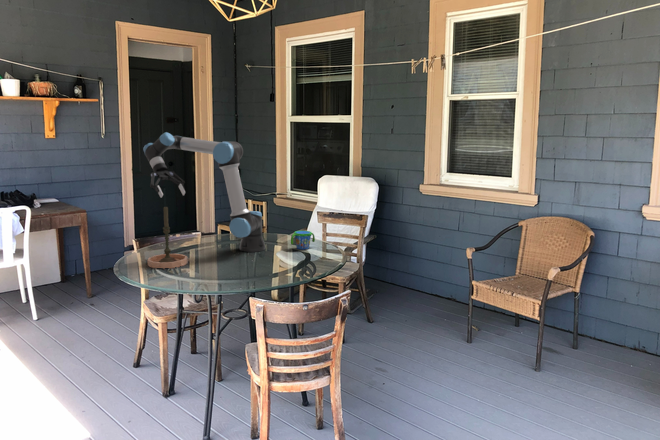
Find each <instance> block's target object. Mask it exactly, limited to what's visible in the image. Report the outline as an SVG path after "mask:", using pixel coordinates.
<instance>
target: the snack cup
mask: <svg viewBox="0 0 660 440" xmlns="http://www.w3.org/2000/svg"><path fill="white" fill-rule="evenodd" d="M311 237H312V239H311ZM294 238H295V245H296V249H297V250H309V248H310V244H311V242H312V243H314V242H315V240H316V238H315V234H314V232H312V231H310V230H296V231H294V232H293V234H292V236H291V238H290V244H291V245H294Z"/></svg>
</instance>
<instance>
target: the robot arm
mask: <svg viewBox="0 0 660 440" xmlns="http://www.w3.org/2000/svg"><path fill="white" fill-rule="evenodd" d="M172 149H173V150H174V149H175V150H183V151H189V152H195V153H197V152H198V153H202V154H203V153H204V154H207V155H212V156H213V159H214V161H215V162H217V163H218V164H217V165H218V168H219V169H220V170H221V171H222V173H223V177H224V181H225V186H226V191H227V197H228V200H229V205H230V209H231V213H230V214H229V218H230V222H229V227H228V228H229V232H230V233H231V234H232V235H233V236H234V237H236V238H238V239H239V238H241V240H240V243H239V251H241V252H245V253H257V252H263V251H265V250H266V244H265V241H264V238H263V215H262V212H261V211H255V210H249V209H248V208H247V204H246V203H247V202H246V198H245V194H244V190H243V185H242V180H241V177H240V176H241V175H240V171H239V166H240V165H241V164H240V160H241V159H242V157H243V154H244V149H243V146H242V144H240V143H239V142H237V141H233V140H231V141H228V140H227V141H225V140H223V141H222V142H221V141H214V140H213V141H212V140H206V139H200V138H193V137H186V136H180V135H173V134H171V133H169V132H167V131H166V132H164V133H162V134H161V135H160V136H159V137H158V138H157V139H156V140H155V141H154V142H148V143H147V144H145V145H144V147H143V152H144V156H145V157H146V159H147V161H148V163H149V165H150V166H151V167H150V168H152V171H153V172H151V173H150V178H151V179H150V185H149V186H150V189H152V188H153V190H154V191H155V192H156V193H157V194H158V195H159V197H160V198H163V196H164V193H163V191H162V188H161V187H160V185H159V182H160V181H164V180H165V181H170V182H172V183H174V184H175V185H177V186H178V189H179V190H180V192H181V194H182V196H185V194H186V190H185V186H184V185H185V183H186V182H185V180H184V179H182V178H181V177H180V176H179V175H178V174H177V173H176V172H175V170H172V171H169V170H168V167H167V165H166V164H165V161H164V159H163V157H162V155H163V154H164V153H165V152H166V151H167V150H172ZM155 177H156V178H157V180H156V181H155Z"/></svg>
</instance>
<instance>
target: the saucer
mask: <svg viewBox="0 0 660 440" xmlns="http://www.w3.org/2000/svg"><path fill="white" fill-rule="evenodd" d="M169 255H170V256H171V257H173V258H174V259H176V260H177V261H175V262H163V263H161V262H159V260H161V259H162V258H164V257H165V256H166V254H165V253H163V254H157V255H156V254H155V255H152V256H150V257H148V259H147V266H148V267H150V268H151V269H152V268H153V269H157V268H163V269H162V270H166V269H165V268H169V269H176V268H175V267H177V268H180V266H181V267H185V266H186V265H188V256H187V255H185V254H182V253H181V254H179V253H170V254H169Z"/></svg>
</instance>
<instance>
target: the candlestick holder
mask: <svg viewBox="0 0 660 440" xmlns="http://www.w3.org/2000/svg"><path fill="white" fill-rule="evenodd" d="M163 225H164V226H163V227H162V230H163V234H165V235H164V240H165V241H164V242H165V248H164V249H163V252H164V254H166V256H165V257H164V258H162V259H161V260H159V262H161V263H163V262H175V261H177V260H176V259H174V258H173V257H171V256H170V255H169V254H171V250H172V249H171V248H170V247H169V246H170V245H169V239H170V235H169V234H170V233H171V230H170V229H171V227H170V226H169V207H168V206H164V207H163Z"/></svg>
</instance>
